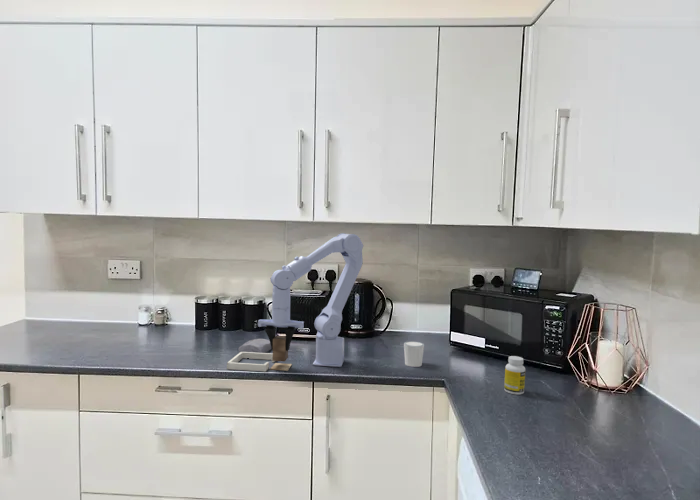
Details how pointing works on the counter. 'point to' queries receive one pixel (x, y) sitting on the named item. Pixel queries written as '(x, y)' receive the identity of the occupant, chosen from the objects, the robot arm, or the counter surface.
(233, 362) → the white open square frame
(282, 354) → the walnut block
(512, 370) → the supplement bottle
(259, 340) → the stone block
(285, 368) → the cork trivet
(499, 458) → the counter surface
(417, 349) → the shot glass
